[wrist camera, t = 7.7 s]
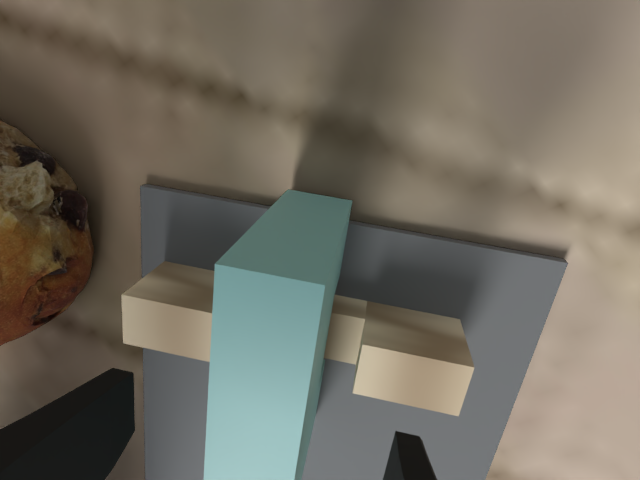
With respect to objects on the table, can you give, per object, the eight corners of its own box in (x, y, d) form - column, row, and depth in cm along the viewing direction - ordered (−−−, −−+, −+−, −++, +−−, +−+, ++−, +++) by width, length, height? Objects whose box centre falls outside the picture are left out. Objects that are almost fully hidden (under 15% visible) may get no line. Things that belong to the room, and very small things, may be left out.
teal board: (263, 403, 19) (199, 567, 13) (287, 189, 16) (214, 263, 9) (315, 415, 19) (277, 588, 12) (352, 200, 15) (325, 285, 9)
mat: (149, 527, 24) (145, 534, 24) (145, 183, 17) (140, 185, 16) (434, 601, 22) (434, 610, 22) (563, 258, 15) (568, 263, 15)
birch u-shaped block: (164, 303, 18) (123, 343, 15) (164, 261, 17) (121, 294, 15) (447, 361, 17) (458, 416, 14) (460, 319, 16) (474, 367, 13)
